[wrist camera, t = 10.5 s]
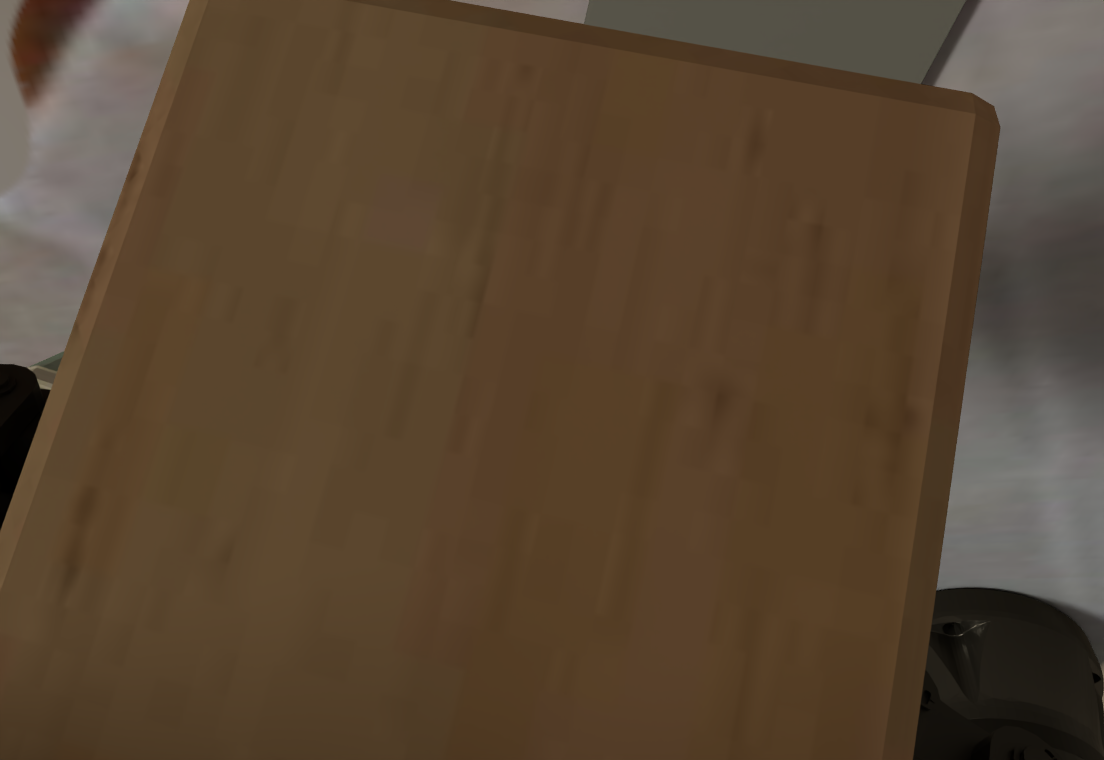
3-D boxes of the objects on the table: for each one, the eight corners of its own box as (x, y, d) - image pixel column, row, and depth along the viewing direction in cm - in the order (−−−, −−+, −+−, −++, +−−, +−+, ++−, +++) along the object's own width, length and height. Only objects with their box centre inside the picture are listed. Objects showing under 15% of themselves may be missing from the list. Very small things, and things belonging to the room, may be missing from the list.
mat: (1169, -385, 22) (1178, -391, 21) (793, 313, 39) (793, 318, 38) (706, -496, 23) (705, -505, 23) (539, 227, 40) (536, 231, 39)
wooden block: (702, 380, 27) (1028, 82, 7) (652, 628, 25) (892, 1100, 6) (468, 328, 28) (191, -66, 8) (406, 566, 26) (-120, 791, 7)
